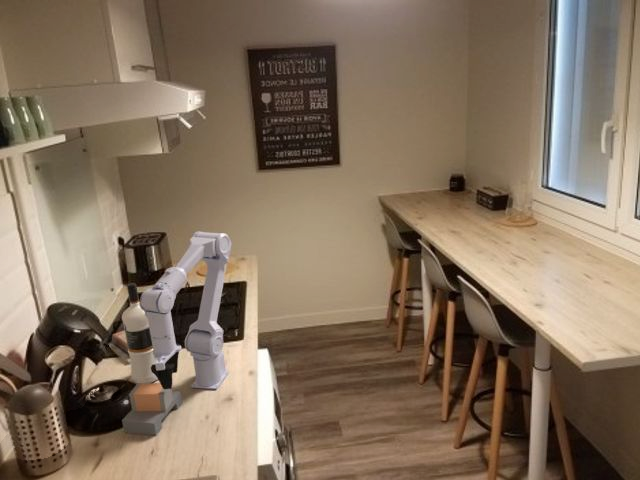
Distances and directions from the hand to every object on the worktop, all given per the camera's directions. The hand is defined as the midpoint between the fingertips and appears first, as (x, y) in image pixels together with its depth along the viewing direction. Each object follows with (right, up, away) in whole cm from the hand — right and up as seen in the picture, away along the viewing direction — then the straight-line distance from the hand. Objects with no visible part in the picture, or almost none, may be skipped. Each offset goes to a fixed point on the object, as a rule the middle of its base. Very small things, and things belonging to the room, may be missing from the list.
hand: (170, 380), depth 137 cm
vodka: (-13, -5, +20) cm, 24 cm away
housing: (-4, -6, 0) cm, 8 cm away
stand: (-4, -10, +1) cm, 11 cm away
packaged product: (-23, -1, +38) cm, 44 cm away
